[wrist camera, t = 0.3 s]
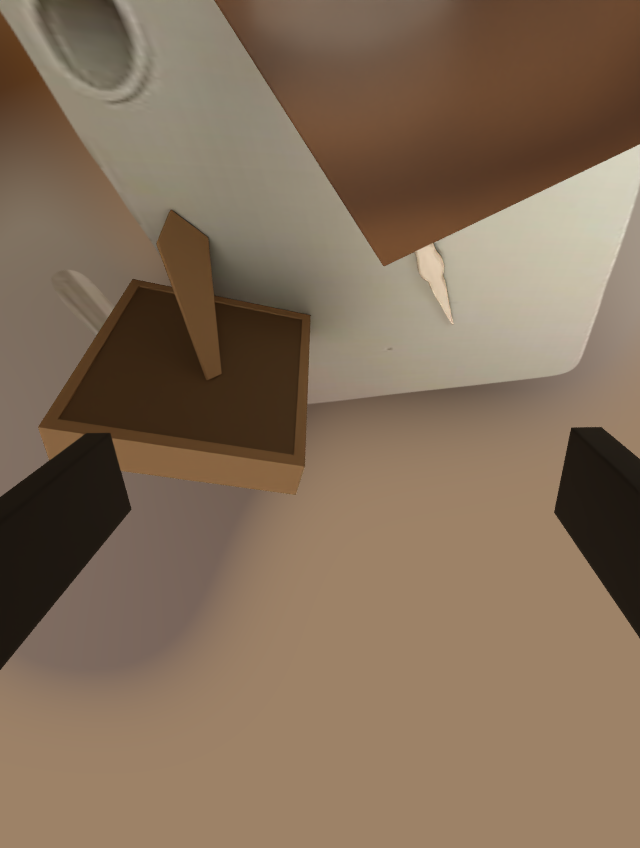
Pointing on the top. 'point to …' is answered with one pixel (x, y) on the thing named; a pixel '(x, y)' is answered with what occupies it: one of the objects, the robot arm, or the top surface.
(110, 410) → the photo frame
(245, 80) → the top surface
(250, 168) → the top surface
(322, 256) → the top surface
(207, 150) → the top surface
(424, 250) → the beige tapered rod
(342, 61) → the shelf
